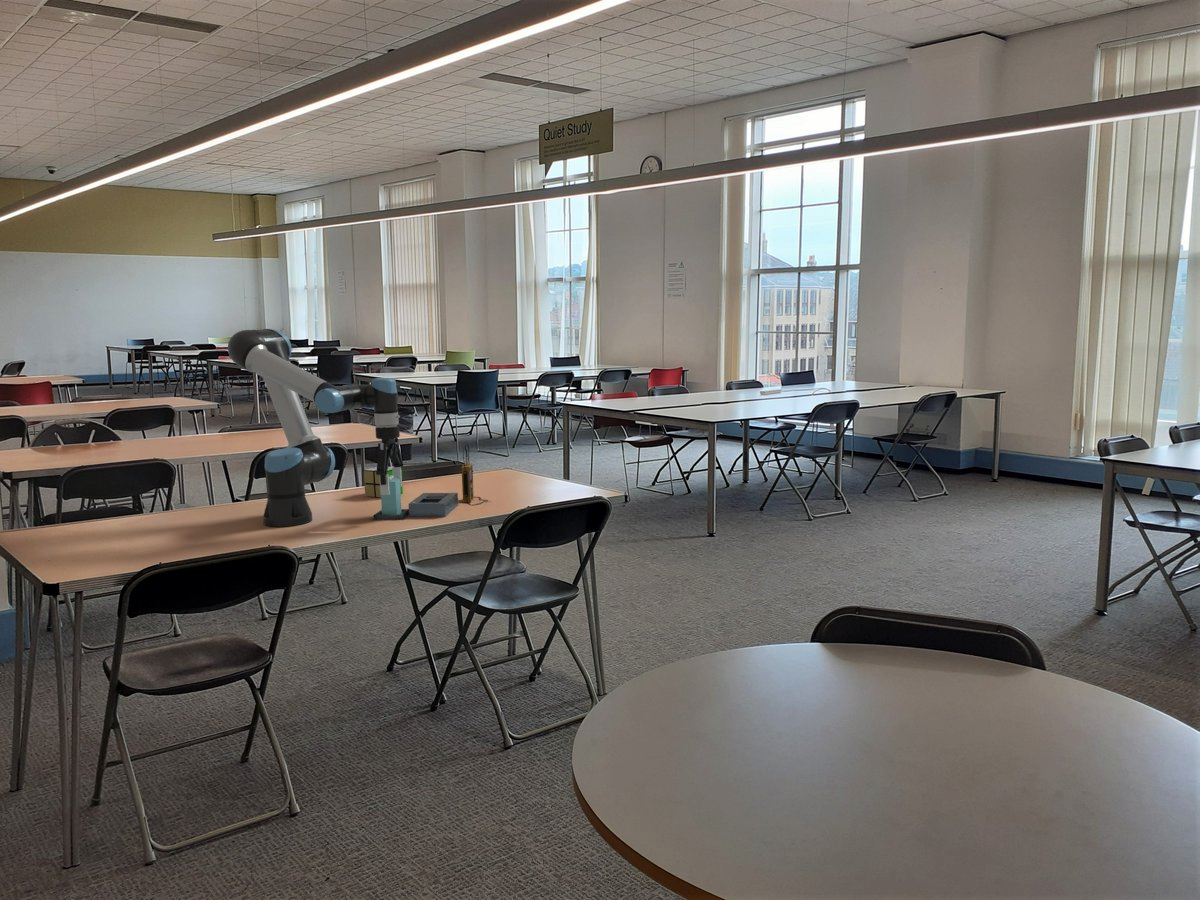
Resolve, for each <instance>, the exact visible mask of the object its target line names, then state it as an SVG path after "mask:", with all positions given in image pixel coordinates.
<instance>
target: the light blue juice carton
mask: <svg viewBox="0 0 1200 900" xmlns="http://www.w3.org/2000/svg"><path fill="white" fill-rule="evenodd" d="M389 492H390V494H389V495H381V498H380V499H381V500H380V502H381V503H380V504H381V510H382V515H386V514H400V513H402V509H403V508H402V496H401V495H402V494H401V491H400V479H394V476H389Z"/></svg>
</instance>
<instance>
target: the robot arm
mask: <svg viewBox="0 0 1200 900" xmlns="http://www.w3.org/2000/svg"><path fill="white" fill-rule="evenodd" d="M292 351H293V349H292V344H291V341H290V340H289V338H288V336H287V335H286V334H285V333H284V332H282V331H280V330H278V329H272V328H264V329H262V328H261V329H243V330H240V331H237V332H235V333H234V334H233V335H232V336H231V337H230V338H229V341H228V342H227V352H228V356H229V357H230V359H231V360H232V362H233V363H235V364H236V365H237V366H239V367H240V368H243V369H244V370H245V371H247V372H250V373H255V374H256V375H257V376H261V377H262V378H263V381H264V384H265V387H266V388H267V389H266V390H267V391H268V394H269V397H270V399H271V401H272V404H273V407H274V409H275V413H276V415H277V418H278V420H279V423H280V424H281V429H282V430H283V433H284V435H285V437H286V440H287V444H288V445H287V447H284V448H281V449H280V448H278V449H275V450H273V451H269V452H268V453H267V454H265V457H264V472H265V473H264V475H265V485H266V486H265V487H266V496H267V500H266V504H265V508H264V512H263V516H262V520H263V521H262V522H263V523H262V524H263V525H265V526H268V527H275V528H277V527H279V528H280V527H292V526H298V525H299V526H300V525H304V524H307V523H310V522H312V521H313V512H312V509H311V508H310V505H309V503H308V500H307V498H306V488H305V486H306V485H309V484H314V483H319V482H321V481H323V480H325V479H327V478H328V477H330V476H331V475H332V474H333V471H334V469H335V467H336V458H335V454H334V452H333V450H332V449H331V448H330V447H328V446H326V445H324V444H323V442H322V441H321V437H319V436H317V435H315V434H314V433H313V430H312V427H311V425H310V422H309V418H308V417H307V414H306V411H305V409H304V406H303V404H302V401H301V399H300V396H302V397H304V398H305V399H307V400H310V401H311V402H313V403H314V404H315V406H316V408H317V409H318V410H319V411H320V412H322V413H324V414H325V413H326V414H329V413H330V414H335V413H339V412H342V411H348V410H355V409H361V408H363V409H365V408H366V409H367V408H373V411H374V412H373V414H374V415H373V416H374V426H376V427H375V438H376V439H378V440H381V442H379V443H378V444H377V460H376V461H377V462H376V467H377V471H376V475H379V478H380V493H381V495H389V494H390V492H389V477H388V474H387V471H388V467H389V464H390V461H391V465H392V467H393V468H392V473H393V476H394V479H400V487H402V485H403V481H402V480H403V477H402V478H401V468H402V467H404V463H403V458H402V457H403V456H402V452H401V449H400V444H399V438H400V426H399V423H400V422H399V419H400V417H401V415H399V409H398V390H397V389H398V388H397V382H396V379H394V378H393V377H378V378H377V377H376V378H375V377H374V378H373V379H372V380H371V384H345V385H342V386H336V385H333V384H331V383H330V382H328V381H326V380H325V379H322V378H320V377H318V376H317V375H314V374H313V373H310V372H309V371H307V370H305V369H304V368H301V367H299V366H298V365H296V364H293V363H291V359H290V357H291V356H292V353H291V352H292ZM299 395H300V396H299Z"/></svg>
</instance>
